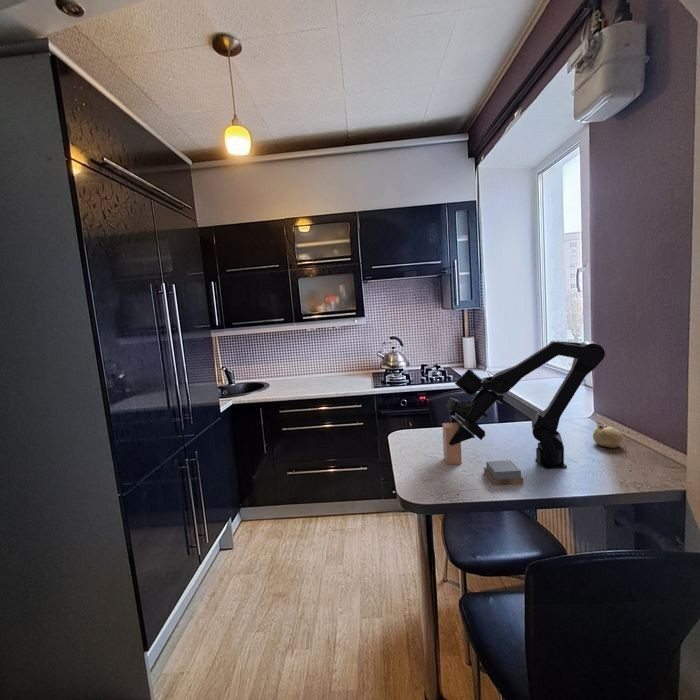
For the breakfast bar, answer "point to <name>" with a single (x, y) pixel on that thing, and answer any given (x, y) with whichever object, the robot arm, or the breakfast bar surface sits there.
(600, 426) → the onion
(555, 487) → the breakfast bar surface
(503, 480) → the tower base
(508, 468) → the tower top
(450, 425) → the pillar
